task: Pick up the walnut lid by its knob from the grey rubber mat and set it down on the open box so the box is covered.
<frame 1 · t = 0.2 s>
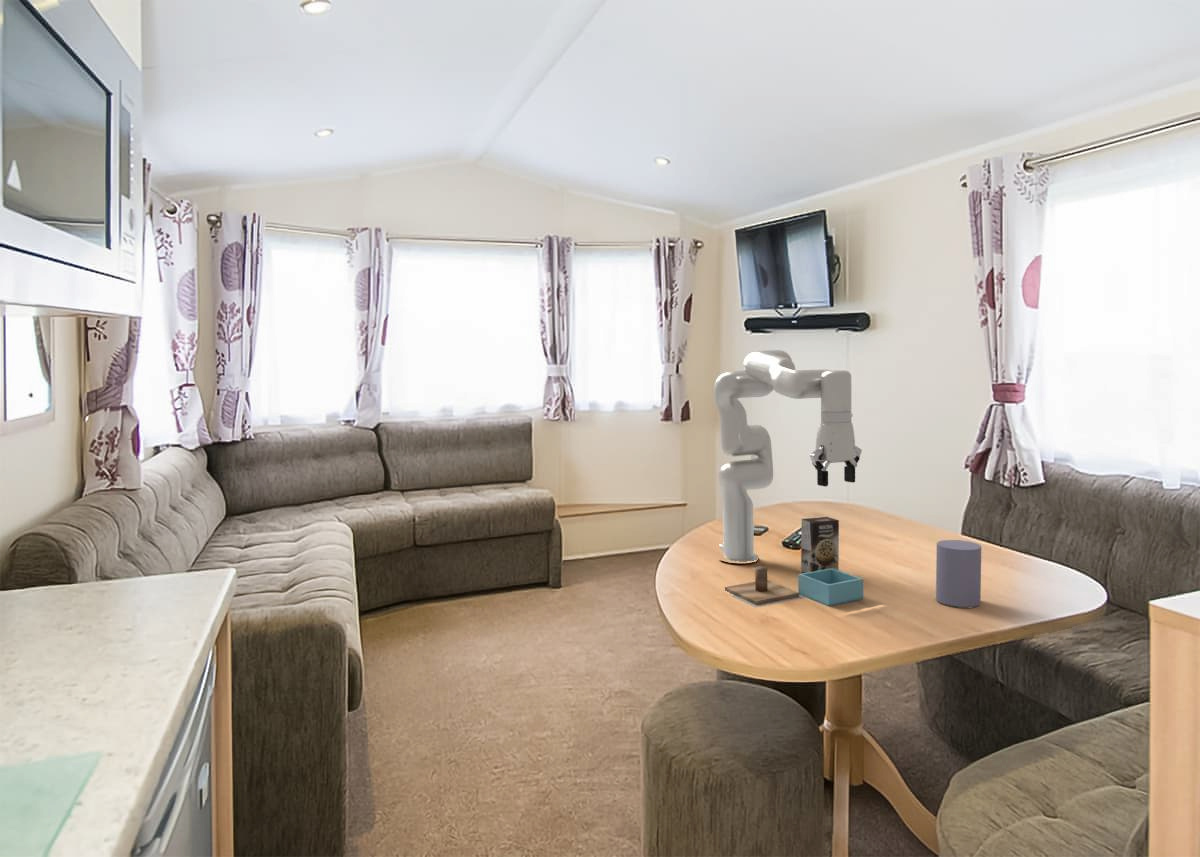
hand: (836, 483, 196), 31 cm above the table, tool pointing down, fingers open, 9 cm apart
mat: (761, 595, 203), on the table
coffee box: (819, 573, 223), on the table
lid: (761, 593, 203), point 1 cm above the table, touching mat
open box: (830, 598, 199), on the table
container: (957, 602, 194), on the table
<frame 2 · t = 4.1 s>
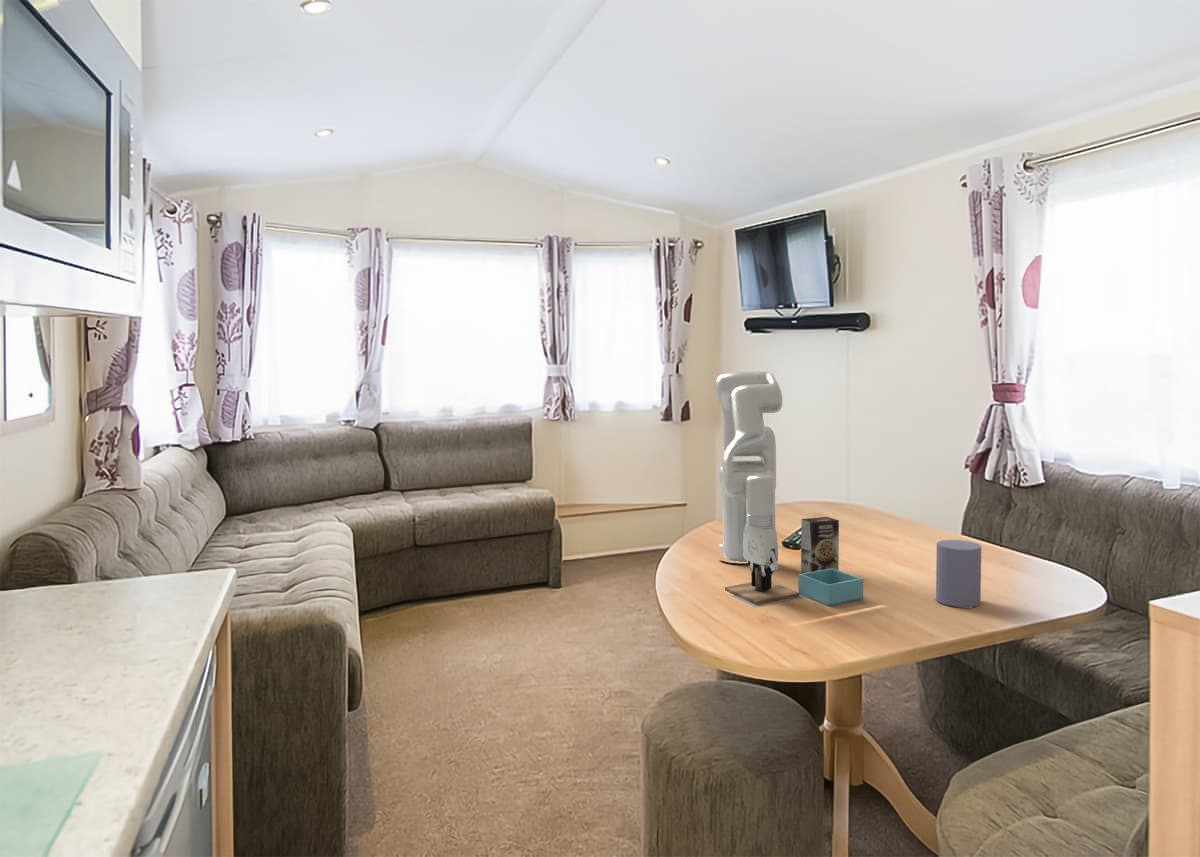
hand: (761, 586, 203), 2 cm above the table, tool pointing down, fingers closed on lid, 3 cm apart
lid: (761, 593, 203), point 1 cm above the table, touching gripper, mat
everything else where it was.
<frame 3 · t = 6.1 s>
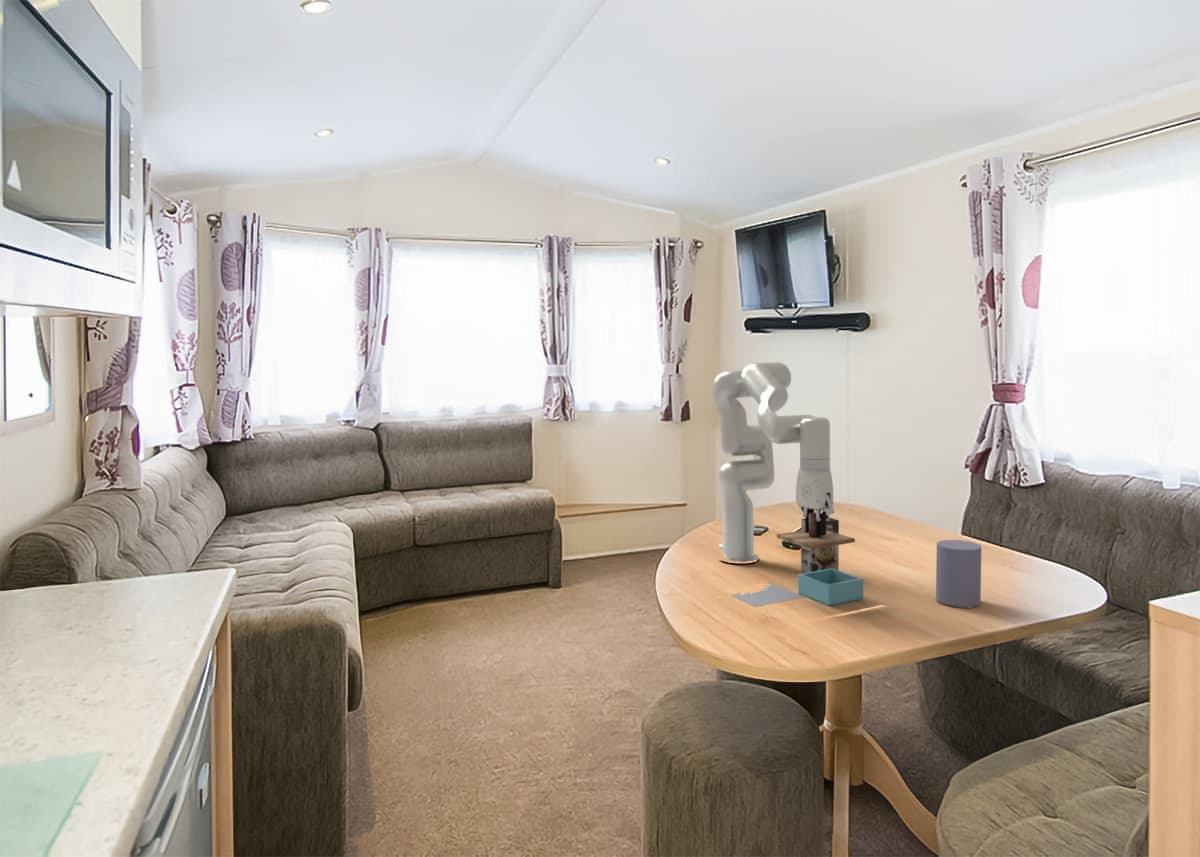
hand: (815, 533, 198), 18 cm above the table, tool pointing down, fingers closed on lid, 3 cm apart
lid: (815, 540, 199), point 16 cm above the table, touching gripper
everything else where it was.
when the fingers open (9 cm above the table, at t = 8.5 s): lid drops 1 cm, resting on open box.
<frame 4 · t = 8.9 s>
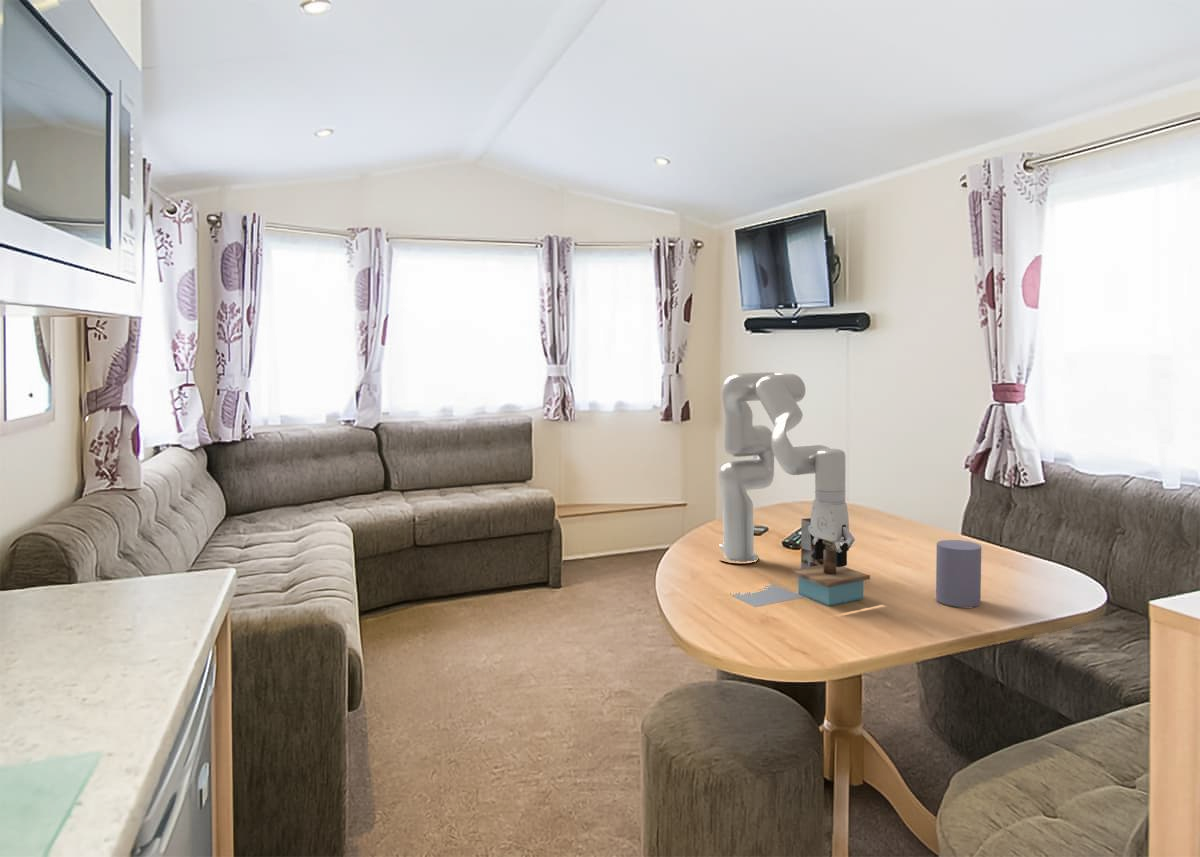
hand: (830, 562, 198), 10 cm above the table, tool pointing down, fingers open, 7 cm apart
lid: (829, 576, 199), point 6 cm above the table, touching open box
everything else where it was.
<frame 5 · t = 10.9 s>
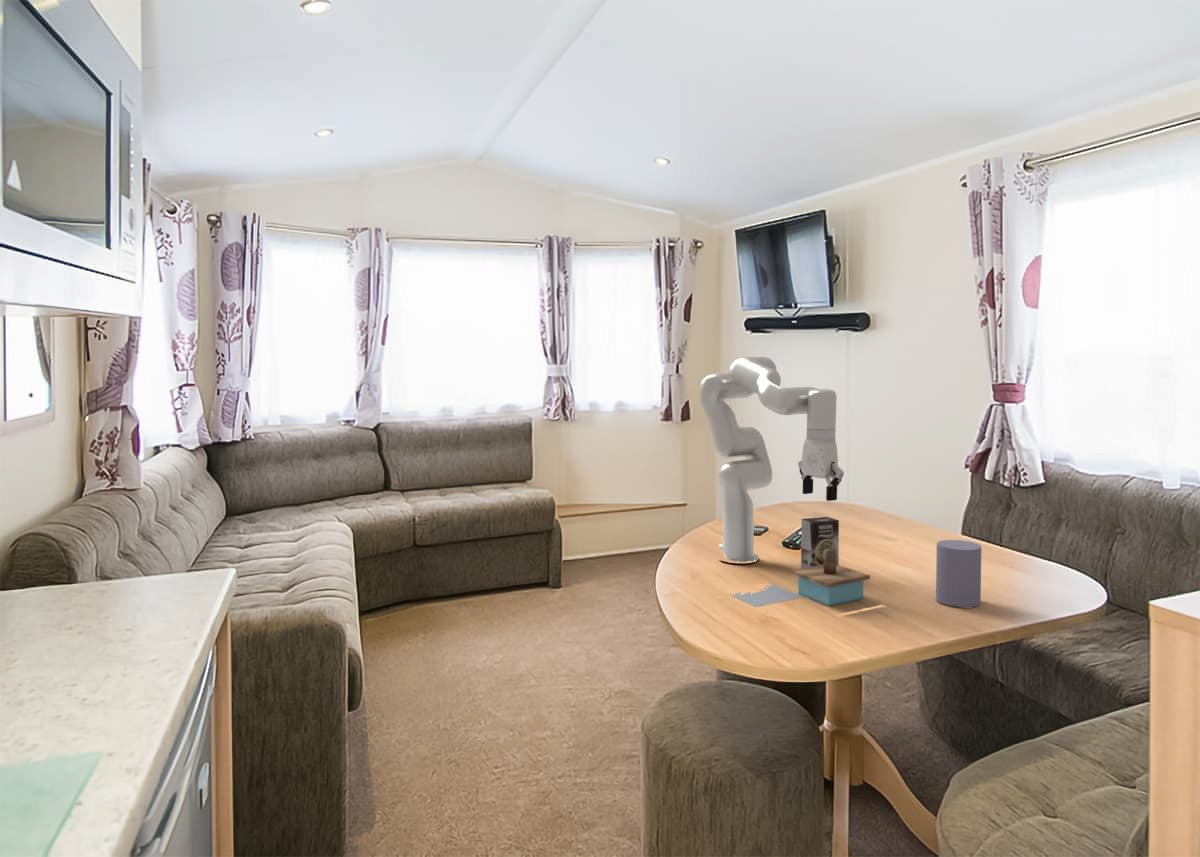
hand: (819, 496, 207), 25 cm above the table, tool pointing down, fingers open, 9 cm apart
nothing on the table moved.
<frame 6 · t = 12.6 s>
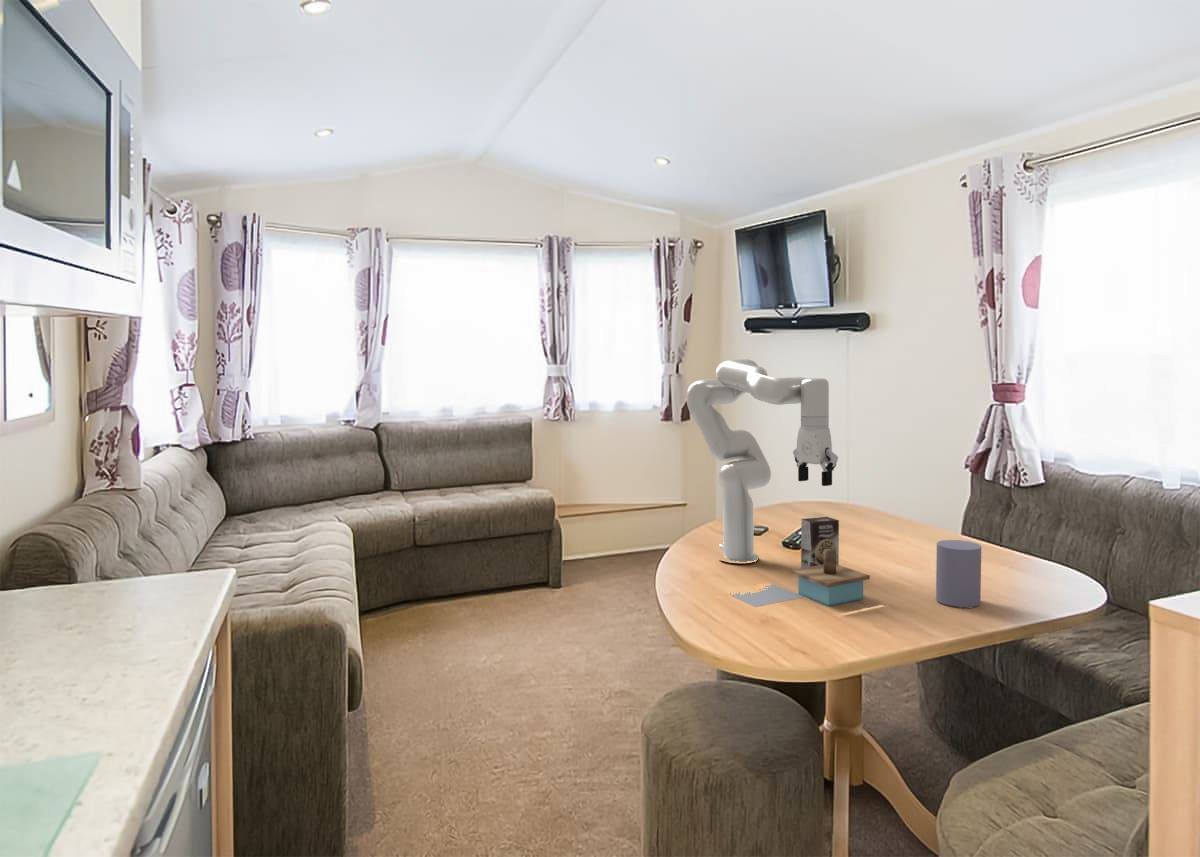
hand: (814, 483, 212), 28 cm above the table, tool pointing down, fingers open, 9 cm apart
nothing on the table moved.
at the end: lid 0.1 cm off-centre on the open box, point 6.0 cm above the open box's base; lid tilted 0°; the gripper is holding nothing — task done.
